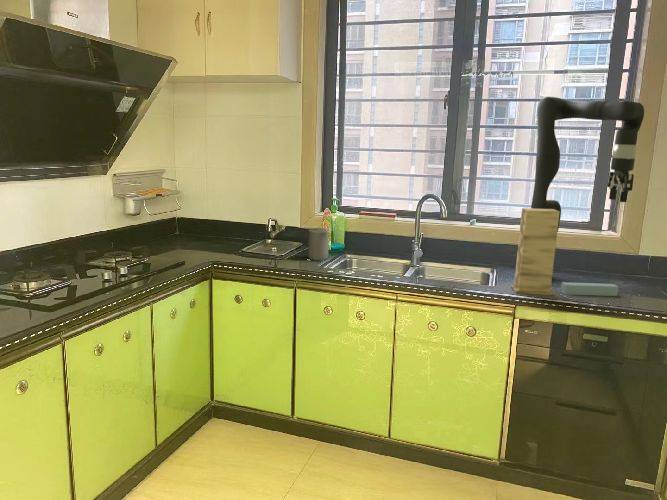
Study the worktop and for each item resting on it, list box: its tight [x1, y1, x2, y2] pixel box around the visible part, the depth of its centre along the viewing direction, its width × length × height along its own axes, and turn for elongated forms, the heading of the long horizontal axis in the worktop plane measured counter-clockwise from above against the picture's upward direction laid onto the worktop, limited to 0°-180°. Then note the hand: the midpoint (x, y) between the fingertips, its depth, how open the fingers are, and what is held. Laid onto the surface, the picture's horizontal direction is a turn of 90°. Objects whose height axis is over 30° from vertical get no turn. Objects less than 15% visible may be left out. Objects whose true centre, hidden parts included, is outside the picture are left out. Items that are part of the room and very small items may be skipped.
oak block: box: [510, 207, 560, 296], centre depth 202 cm, size 8×14×32 cm, turn 87°
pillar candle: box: [307, 227, 330, 261], centre depth 251 cm, size 10×10×15 cm
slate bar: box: [560, 281, 619, 297], centre depth 204 cm, size 4×20×4 cm, turn 89°
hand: (617, 200), depth 199 cm, fingers open, 8 cm apart
